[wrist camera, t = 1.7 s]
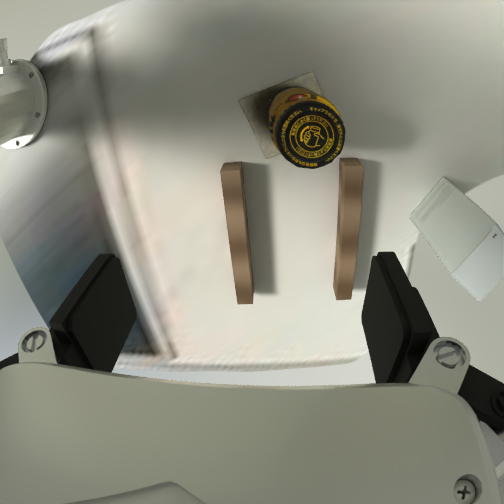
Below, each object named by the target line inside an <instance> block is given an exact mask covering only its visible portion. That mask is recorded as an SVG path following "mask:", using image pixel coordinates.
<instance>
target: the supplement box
mask: <svg viewBox="0 0 504 504" xmlns="http://www.w3.org/2000/svg"><path fill="white" fill-rule="evenodd" d="M410 219H411V221H412V222H413V223H414V225H415V226H416V227H417V229H418V230H419V231H420V232H421V234H422V235H423V236H424V238H425V239H426V240H427V242H428V243H429V245H430V246H431V247H432V248H433V250H434V251H435V253H436V254H437V255H438V257H439V258H440V260H441V261H442V263H443V264H444V265H445V267H446V268H447V270H448V271H449V273H450V274H451V276H452V277H453V278H454V279H455V280H456V281H457V282H458V283H459V284H460V285H461V286H462V287H463V288H464V289H466V290H467V291H468V292H469V293H470V294H471V295H472V296H473V297H474V298H475V299H476V300H477V301H478V302H480V301H481V300H483V299H484V297H486V296H487V295H488V294H489V293H490V292H491V290H492V289H493V288H494V287H495V286H496V285H497V284H498V283H499V282H500V281H501V280H502V279H503V278H504V233H503V231H502V230H501V229H500V227H499V226H498V224H497V223H496V222H495V221H494V220H492V219H491V217H489V216H488V215H487V214H486V213H485V212H484V211H483V210H482V209H481V208H480V207H479V206H478V205H476V204H475V203H474V202H473V201H472V200H471V199H469V198H468V197H467V196H466V195H465V194H464V193H463V192H461V191H460V190H459V189H458V188H457V187H455V186H454V185H453V184H452V183H451V182H449V181H448V180H447V179H446V178H445V177H443V178H442V179H441V180H440V181H439V183H438V184H437V185H436V186H435V187H434V188H433V190H432V191H431V192H430V193H429V194H428V196H427V197H426V198H425V199H424V200H423V201H422V202H421V204H420V205H419V206H418V207H417V208H416V209H415V210H414V212H413V213H412V214H411V215H410Z"/></svg>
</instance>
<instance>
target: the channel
mask: <svg viewBox="0 0 504 504" xmlns="http://www.w3.org/2000/svg"><path fill="white" fill-rule="evenodd" d="M363 167H364V166H363V165H362V164H361V163H360V161H359V160H358V159H357V158H340V165H339V201H338V223H337V241H336V256H335V270H334V282H333V288H334V292H335V296H336V300H347V299H351V297H352V289H353V282H354V274H355V266H356V257H357V248H358V238H359V227H360V215H361V202H362V186H363ZM220 173H221V181H222V189H223V197H224V205H225V213H226V221H227V229H228V237H229V244H230V252H231V259H232V267H233V274H234V282H235V289H236V296H237V303H238V304H253V294H254V287H253V276H252V266H251V255H250V245H249V234H248V224H247V213H246V203H245V192H244V182H243V171H242V162H231V163H224V164H223V166H222V169H221V171H220Z"/></svg>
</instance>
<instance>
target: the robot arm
mask: <svg viewBox="0 0 504 504" xmlns="http://www.w3.org/2000/svg"><path fill="white" fill-rule="evenodd" d="M7 50H8V46H7V39H6V38H4V39H0V146H2V147H4V148H7V149H18V148H21V147H23V146H25V145H27V144H29V143H30V142H31V141H32V140H33V139H35V137H36V136H37V135H38V133H39V132H40V130H41V128H42V126H43V123H44V120H45V117H46V112H47V101H48V99H47V89H46V85H45V81H44V79H43V76H42V74H41V73H40V71H39V70H38V68H37V67H36V66H35V65H34V64H32V63H31V62H29V61H26V60H22V59H21V60H12V61H11V60H10V59H8V56H7ZM136 314H137V313H136V309H135V306H134V303H133V300H132V297H131V294H130V291H129V288H128V285H127V282H126V279H125V275H124V272H123V269H122V266H121V262H120V260H119V258H117V257H116V256H115V255H114V254H99V255H98V256H97V258H96V259H95V260H94V261H93V263H92V264H91V265H90V267H89V268H88V269H87V270H86V272H85V273H84V274H83V276H82V277H81V278H80V280H79V281H78V282H77V284H76V285H75V286H74V288H73V289H72V290H71V292H70V293H69V295H68V296H67V297H66V299H65V300H64V302H63V303H62V304H61V306H60V307H59V309H58V310H57V311H56V313H55V314H54V316H53V317H52V319H51V320H50V322H49V323H50V325H51V329H50V330H48V329H47V328H43V327H37V328H34V329H31V330H30V331H28V332H27V333H26V334H24V335H23V336H22V338H21V339H20V341H19V343H18V353H16V354H14V355H13V356H10V357H8V358H6V359H4V360H3V361H1V362H0V504H504V384H503V383H502V382H500V381H498V380H496V379H494V378H493V377H491V376H489V375H487V374H486V373H484V372H482V371H480V370H478V369H477V368H475V367H473V366H471V365H469V364H470V353H469V351H468V349H467V348H466V346H465V345H463V343H462V342H460V341H458V340H457V339H454V338H451V337H439V334H438V332H437V330H436V328H435V326H434V323H433V321H432V319H431V317H430V315H429V312H428V310H427V308H426V306H425V304H424V302H423V300H422V298H421V296H420V294H419V292H418V290H417V289H416V288H415V287H412V286H411V284H410V282H409V280H408V278H407V276H406V274H405V272H404V270H403V268H402V266H401V264H400V262H399V260H398V258H397V256H396V254H395V253H394V252H378V254H377V256H373V257H372V262H371V268H370V273H369V279H368V284H367V290H366V295H365V300H364V305H363V310H362V325H363V329H364V333H365V337H366V341H367V345H368V349H369V354H370V358H371V362H372V367H373V371H374V376H375V381H376V383H375V384H353V385H323V386H254V385H228V384H227V385H226V384H210V383H197V382H183V381H174V380H164V379H154V378H146V377H139V376H131V375H124V374H117V373H111V372H112V370H113V368H114V366H115V363H116V361H117V359H118V357H119V354H120V352H121V350H122V348H123V346H124V343H125V341H126V339H127V337H128V335H129V333H130V330H131V328H132V326H133V324H134V322H135V320H136Z"/></svg>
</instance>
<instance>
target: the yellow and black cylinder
mask: <svg viewBox="0 0 504 504" xmlns="http://www.w3.org/2000/svg"><path fill="white" fill-rule="evenodd" d="M270 99H271V100H270ZM239 103H240V105H241V107H242V109H243V111H244V113H245V115H246V117H247V119H248V121H249V123H250V125H251V127H252V130H253V132H254V134H255V136H256V138H257V140H258V142H259V145H260V147H261V149H262V151H263V153H264V155H265V158H266V159H268V158H271V157H274V156H276V155H278V154H282V155H283V156H284V158H285V159H286V160H288V161H289V162H291V163H292V164H294V165H295V166H297V167H302V168H310V169H315V168H319V167H322V166H325V165H327V164H329V163H331V162H332V161H333V160H334V159H335V158H336V157H337V156H338V155H339V154H340V153H341V151H342V148H343V145H344V141H345V127H344V125H343V122H342V120H341V117H340V115H339V113H338V111H337V110H336V108H335V107H334V105H333V104H331V103H330V102H329V101H328V100H327V99H326V98H324V97H323V95H322V92H321V90H320V87H319V85H318V82H317V80H316V78H315V75H314V73H313V72H310V73H307V74H304V75H302V76H299V77H296V78H294V79H291V80H288V81H285V82H283V83H280V84H278V85H275V86H273V87H270V88H268V89H265V90H263V91H260V92H258V93H255V94H253V95H251V96H248V97H246V98H244V99H241V100H239Z"/></svg>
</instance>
